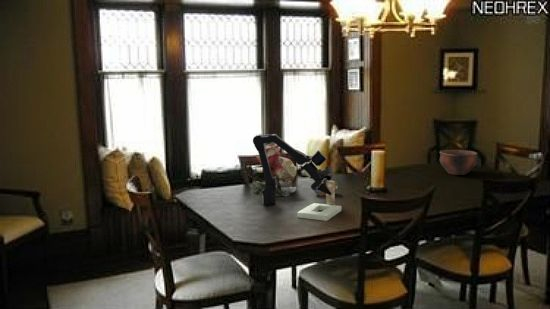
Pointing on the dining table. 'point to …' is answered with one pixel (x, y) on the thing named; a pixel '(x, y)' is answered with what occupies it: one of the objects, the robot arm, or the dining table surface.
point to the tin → (320, 193)
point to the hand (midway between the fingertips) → (332, 193)
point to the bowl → (458, 161)
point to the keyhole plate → (312, 212)
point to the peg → (331, 198)
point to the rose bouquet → (277, 171)
